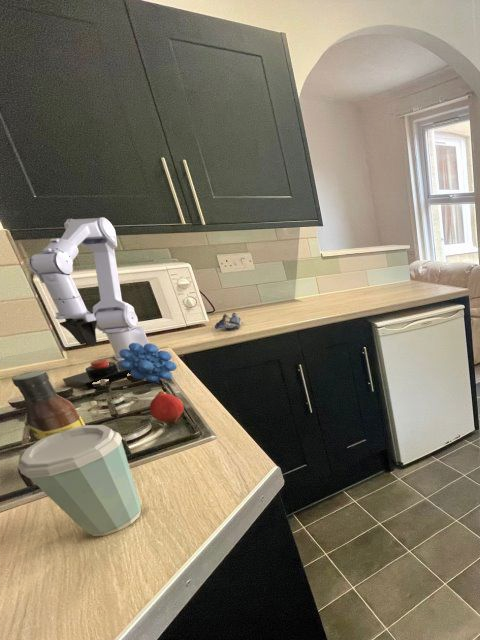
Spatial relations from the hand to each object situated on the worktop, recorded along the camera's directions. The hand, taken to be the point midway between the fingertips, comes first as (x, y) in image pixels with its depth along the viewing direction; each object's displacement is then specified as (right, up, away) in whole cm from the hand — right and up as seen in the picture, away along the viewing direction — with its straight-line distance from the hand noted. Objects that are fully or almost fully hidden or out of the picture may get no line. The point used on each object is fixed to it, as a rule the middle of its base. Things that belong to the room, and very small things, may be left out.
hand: (88, 343), depth 123 cm
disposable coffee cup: (+63, -34, -58) cm, 92 cm away
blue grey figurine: (+11, +11, +47) cm, 50 cm away
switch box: (+6, -10, 0) cm, 12 cm away
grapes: (+24, -12, -6) cm, 28 cm away
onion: (+48, -21, -28) cm, 59 cm away
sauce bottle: (+44, -28, -44) cm, 69 cm away
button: (+6, -7, -2) cm, 9 cm away
